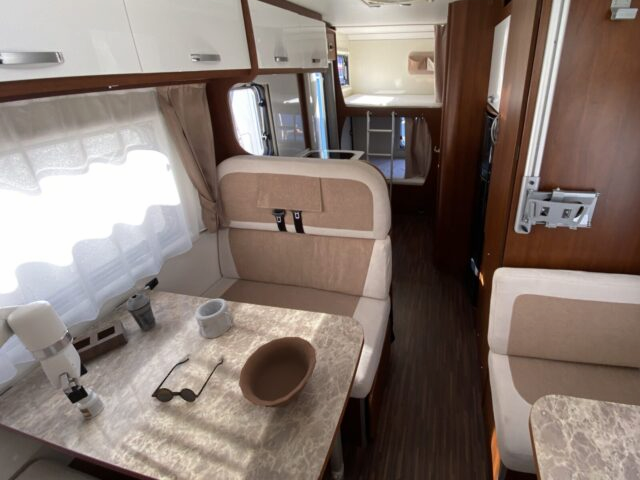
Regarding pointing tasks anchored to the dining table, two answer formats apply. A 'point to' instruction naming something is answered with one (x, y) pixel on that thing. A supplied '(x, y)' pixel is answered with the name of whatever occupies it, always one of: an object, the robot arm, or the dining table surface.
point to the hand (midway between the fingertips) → (80, 387)
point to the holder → (100, 341)
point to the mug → (214, 318)
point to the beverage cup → (141, 310)
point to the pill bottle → (90, 405)
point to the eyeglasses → (185, 393)
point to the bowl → (277, 371)
